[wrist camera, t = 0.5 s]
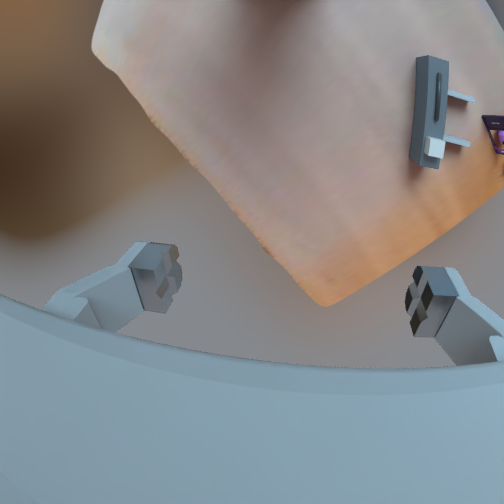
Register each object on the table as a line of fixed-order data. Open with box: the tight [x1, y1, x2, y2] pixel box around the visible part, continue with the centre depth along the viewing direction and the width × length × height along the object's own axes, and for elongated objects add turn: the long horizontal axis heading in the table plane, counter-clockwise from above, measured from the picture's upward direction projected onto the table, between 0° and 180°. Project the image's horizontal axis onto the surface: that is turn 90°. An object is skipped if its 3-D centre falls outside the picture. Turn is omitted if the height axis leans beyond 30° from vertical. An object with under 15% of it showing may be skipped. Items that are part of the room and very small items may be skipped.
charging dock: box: [409, 55, 475, 169], centre depth 38 cm, size 20×12×8 cm, turn 1°
